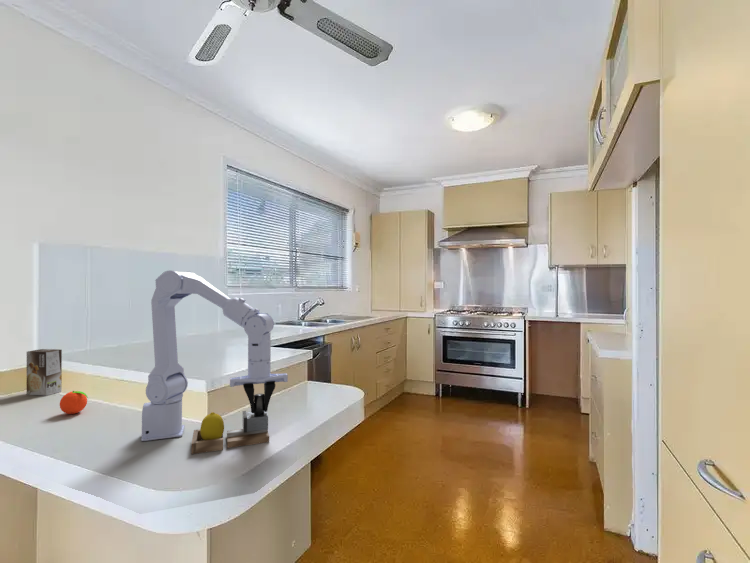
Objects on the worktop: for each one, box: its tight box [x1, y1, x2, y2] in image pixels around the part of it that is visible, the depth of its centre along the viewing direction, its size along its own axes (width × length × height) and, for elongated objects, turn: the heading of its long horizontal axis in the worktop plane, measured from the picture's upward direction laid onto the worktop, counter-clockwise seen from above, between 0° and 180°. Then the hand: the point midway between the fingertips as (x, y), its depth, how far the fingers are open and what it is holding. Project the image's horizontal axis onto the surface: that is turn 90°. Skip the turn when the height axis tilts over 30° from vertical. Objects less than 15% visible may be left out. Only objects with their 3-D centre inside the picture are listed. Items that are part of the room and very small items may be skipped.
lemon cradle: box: [190, 428, 224, 455], centre depth 98 cm, size 7×10×2 cm
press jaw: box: [242, 393, 269, 433], centre depth 103 cm, size 6×6×8 cm
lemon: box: [200, 411, 225, 441], centre depth 99 cm, size 6×6×8 cm
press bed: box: [226, 428, 270, 449], centre depth 102 cm, size 10×8×2 cm
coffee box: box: [26, 348, 63, 396], centre depth 147 cm, size 9×6×16 cm
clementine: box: [59, 390, 89, 415], centre depth 123 cm, size 8×7×7 cm
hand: (259, 411), depth 103 cm, fingers closed on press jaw, 3 cm apart
